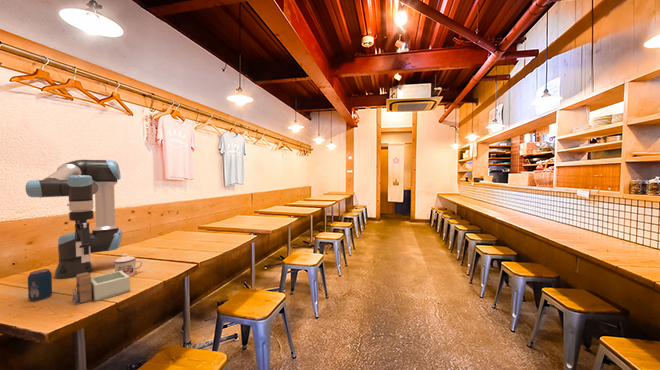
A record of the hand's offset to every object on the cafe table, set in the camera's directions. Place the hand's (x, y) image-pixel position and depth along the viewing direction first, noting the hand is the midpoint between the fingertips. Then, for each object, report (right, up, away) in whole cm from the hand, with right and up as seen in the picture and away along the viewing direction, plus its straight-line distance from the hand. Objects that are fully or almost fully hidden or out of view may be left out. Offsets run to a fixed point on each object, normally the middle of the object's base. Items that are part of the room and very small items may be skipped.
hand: (83, 258), depth 109 cm
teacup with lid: (-3, -18, +28) cm, 34 cm away
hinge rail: (0, -18, 0) cm, 18 cm away
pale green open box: (+5, -18, +7) cm, 20 cm away
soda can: (-21, -18, +2) cm, 28 cm away
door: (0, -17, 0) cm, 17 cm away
